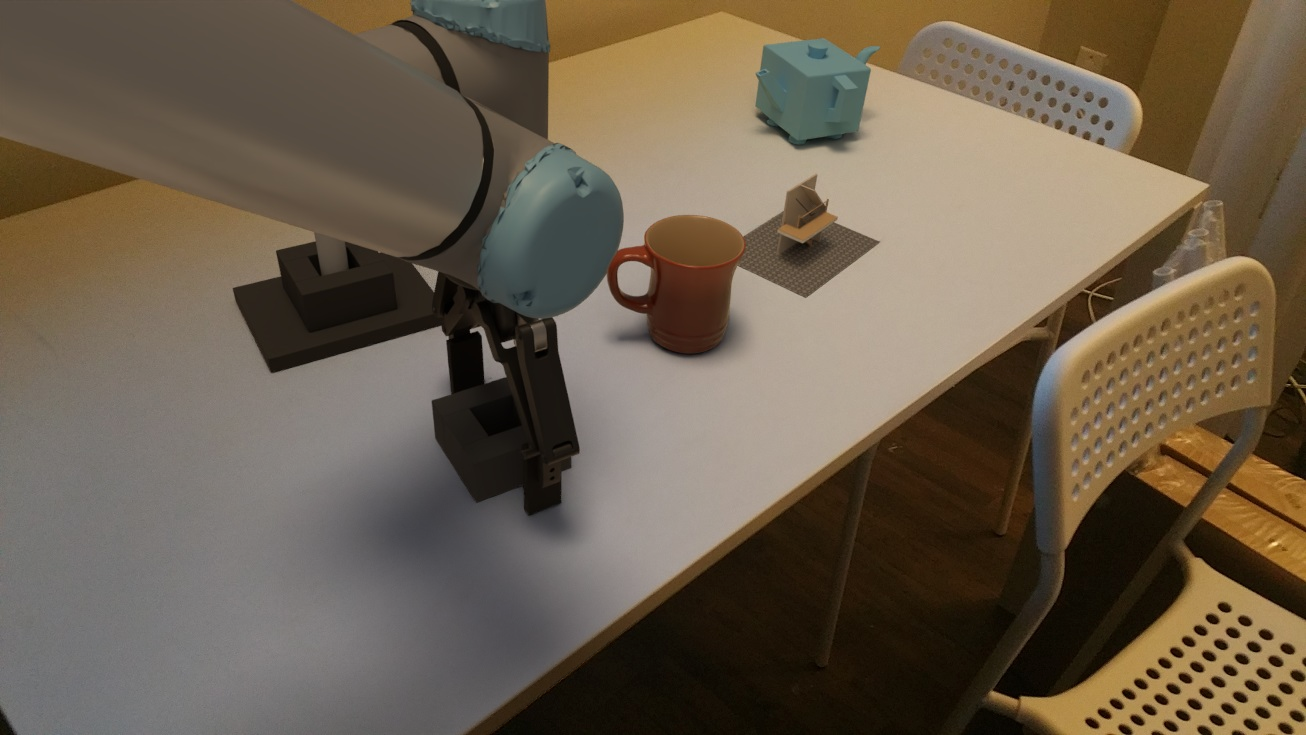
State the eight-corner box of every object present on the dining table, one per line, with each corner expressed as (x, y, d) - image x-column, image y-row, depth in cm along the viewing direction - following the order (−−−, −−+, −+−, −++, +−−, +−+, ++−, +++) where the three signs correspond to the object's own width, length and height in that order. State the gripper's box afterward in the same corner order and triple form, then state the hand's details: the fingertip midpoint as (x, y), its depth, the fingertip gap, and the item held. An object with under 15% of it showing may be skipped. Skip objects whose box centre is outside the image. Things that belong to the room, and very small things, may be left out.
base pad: (271, 373, 83) (243, 252, 76) (235, 301, 91) (207, 184, 84) (448, 323, 90) (439, 207, 83) (401, 260, 98) (389, 149, 91)
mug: (718, 305, 95) (730, 211, 89) (743, 360, 89) (758, 263, 82) (596, 313, 93) (599, 218, 87) (612, 371, 86) (617, 272, 80)
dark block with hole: (309, 333, 86) (301, 295, 83) (283, 287, 91) (275, 250, 88) (397, 309, 89) (393, 272, 87) (367, 266, 94) (362, 230, 92)
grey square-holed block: (476, 503, 73) (473, 464, 71) (434, 438, 78) (431, 400, 76) (571, 467, 77) (572, 429, 74) (526, 408, 82) (525, 370, 79)
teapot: (720, 113, 131) (729, 28, 124) (833, 97, 137) (848, 16, 130) (781, 165, 120) (795, 75, 113) (901, 145, 126) (921, 59, 119)
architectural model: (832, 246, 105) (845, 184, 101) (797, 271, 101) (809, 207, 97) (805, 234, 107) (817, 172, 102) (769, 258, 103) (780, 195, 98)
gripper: (639, 294, 58) (625, 538, 71) (468, 127, 74) (482, 350, 87) (523, 329, 55) (531, 578, 68) (370, 146, 71) (400, 375, 84)
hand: (503, 450), depth 77 cm, fingers open, 13 cm apart
